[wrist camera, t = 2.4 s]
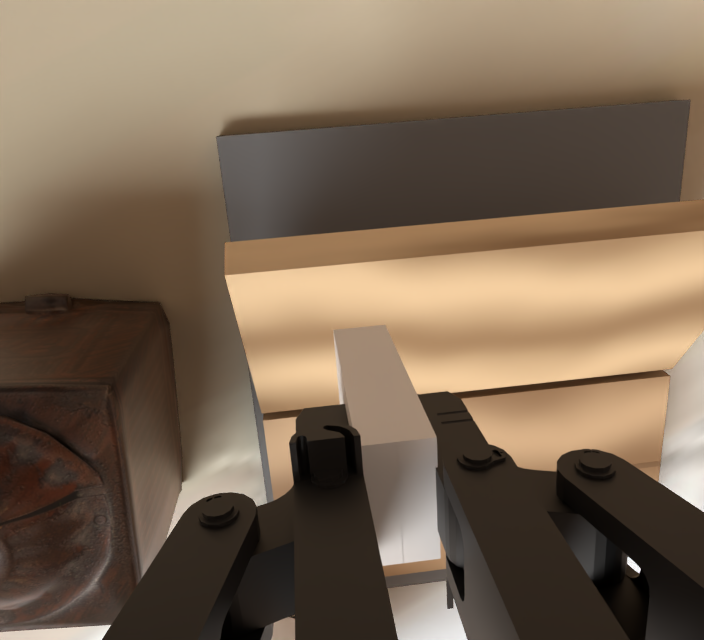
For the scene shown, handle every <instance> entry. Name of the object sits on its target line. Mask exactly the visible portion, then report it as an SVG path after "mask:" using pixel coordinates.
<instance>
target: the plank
mask: <svg viewBox="0 0 704 640" xmlns="http://www.w3.org/2000/svg"><path fill="white" fill-rule="evenodd" d="M225 279H226V283H227V286H228V290H229V294H230V297H231V301H232V305H233V309H234V312H235V316H236V320H237V323H238V327H239V331H240V335H241V338H242V342H243V346H244V349H245V353H246V357H247V361H248V364H249V368H250V372H251V375H252V379H253V383H254V387H255V390H256V394H257V398H258V401H259V405H260V409H261V413H271V412H280V411H289V410H298V409H304V408H311V407H320V406H330V405H339V404H340V401H339V389H338V378H337V367H336V355H335V344H334V332H333V330H337V329H347V328H357V327H367V326H377V325H386V328H387V330H388V332H389V334H390V336H391V339H392V341H393V343H394V345H395V347H396V349H397V352H398V354H399V356H400V358H401V360H402V363H403V365H404V367H405V369H406V371H407V373H408V376H409V378H410V380H411V382H412V384H413V387H414V389H415V391H416V393H417V394H426V393H435V392H445V391H448V392H450V393H454V392H463V391H473V390H482V389H491V388H500V387H509V386H518V385H528V384H537V383H546V382H555V381H564V380H573V379H583V378H592V377H601V376H610V375H619V374H628V373H638V372H647V371H656V370H665V369H672V368H673V367H674V366H675V365H676V363H677V362H678V361H679V360H680V358H681V357H682V356H683V355H684V354H685V352H686V351H687V350H688V349H689V347H690V346H691V345H692V344H693V343H694V341H695V340H696V339H697V338H698V336H699V335H700V334H701V333H702V332H703V330H704V200H692V201H681V202H670V203H659V204H648V205H637V206H626V207H614V208H603V209H592V210H581V211H570V212H559V213H548V214H536V215H525V216H514V217H503V218H492V219H481V220H470V221H458V222H447V223H436V224H425V225H414V226H403V227H392V228H380V229H369V230H358V231H347V232H336V233H325V234H314V235H302V236H291V237H280V238H269V239H258V240H247V241H236V242H225Z"/></svg>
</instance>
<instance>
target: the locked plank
mask: <svg viewBox="0 0 704 640" xmlns="http://www.w3.org/2000/svg"><path fill="white" fill-rule="evenodd" d="M669 382H670V375H668V374H667V373H665V372H664V371H662V370H656V371H647V372H638V373H628V374H619V375H610V376H601V377H592V378H583V379H573V380H564V381H555V382H546V383H537V384H528V385H518V386H509V387H500V388H491V389H482V390H473V391H463V392H454V393H451V394H453V395H455V396H456V397H458V398H460V399H461V400H462V401H463V403H464V404H465V406H466V408H467V409H468V412H469V413H470V414H471V416H472V418H473V421H475V423H476V424H477V426H478V427H479V429H480V431H481V432H482V434H483V436H484V437H485V439H486V441H487V442H488V444H490V445H494V446H496V447H499V448H501V449H503V450H505V451H506V452H507V453H508V454H509V455H510V456H511V457H512V459H513V460H514V462H515V463H516V465H517V466H518V467H521V468H525V469H532V470H543V471H556V469H557V461H558V459H559V458H560V457H561V455H563V454H565V453H567V452H570V451H573V450H581V449H591V450H592V449H597V450H601V451H604V452H608V453H612V454H614V455H616V456H618V457H620V458H622V459H624V460H626V461H627V462H629V463H630V464H632V465H633V466H635V467H636V468H638V469H639V470H641V471H642V472H644V473H645V474H647V475H648V476H650V477H651V478H653V479H654V480H656V481H657V482H658V480H659V471H660V463H661V453H662V444H663V435H664V426H665V417H666V409H667V400H668V391H669ZM302 410H303V409H298V410H289V411H280V412H271V413H264V414H263V425H264V432H265V440H266V447H267V454H268V462H269V469H270V477H271V484H272V491H273V499H274V500H276V499H278V498H280V497H281V496H283V495H285V494H286V493H287V492H288V491H289V490H290V489H291V488H292V486H293V485H294V482H293V473H292V465H291V457H290V448H289V442H290V439H291V437H292V436H293V435H294V434H295V433H296V418H297V417H298V415H299V414H300V413H301V412H302ZM440 552H441V559H433V560H425V561H417V562H410V563H402V564H394V565H386V566H383V571H384V575H385V577H386V576H394V575H402V574H409V573H417V572H425V571H433V570H440V569H446V553H445V550H444V547H443V544H442V541H441V539H440Z"/></svg>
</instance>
